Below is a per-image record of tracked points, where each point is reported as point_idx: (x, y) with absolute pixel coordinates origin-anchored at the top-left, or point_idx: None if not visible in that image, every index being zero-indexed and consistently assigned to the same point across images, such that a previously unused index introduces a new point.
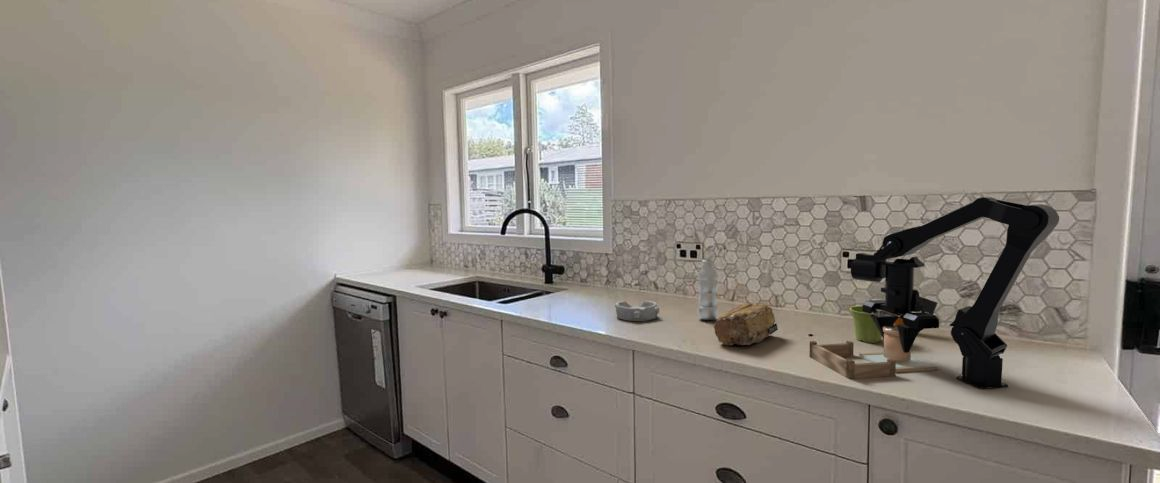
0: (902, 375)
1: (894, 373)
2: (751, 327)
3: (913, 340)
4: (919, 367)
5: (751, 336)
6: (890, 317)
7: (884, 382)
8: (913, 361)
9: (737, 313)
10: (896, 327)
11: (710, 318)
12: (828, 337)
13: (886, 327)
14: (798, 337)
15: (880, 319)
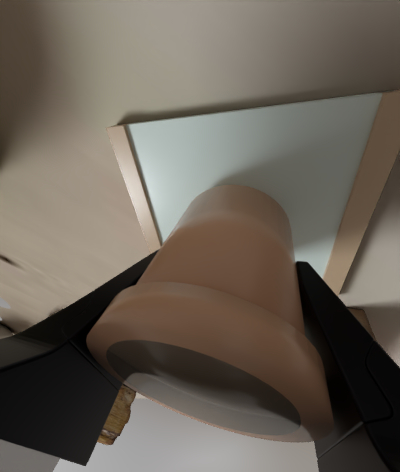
0: (370, 290)
1: (365, 320)
2: (117, 409)
3: (369, 342)
4: (370, 214)
5: (127, 389)
6: (17, 434)
7: (390, 355)
8: (264, 168)
9: (99, 442)
10: (165, 384)
11: (9, 335)
12: (3, 237)
13: (166, 403)
14: (39, 287)
15: (85, 440)
